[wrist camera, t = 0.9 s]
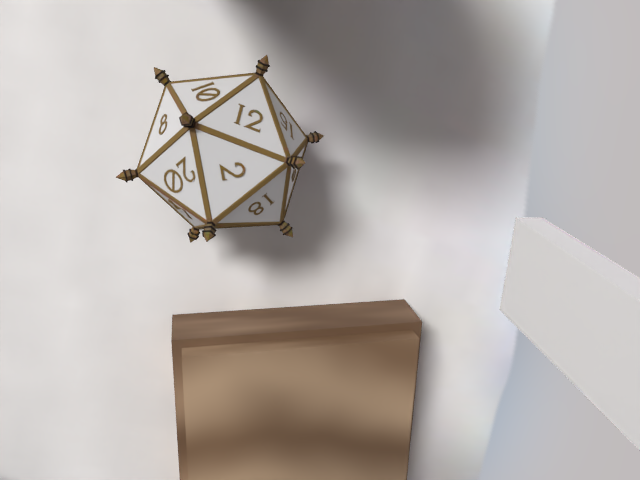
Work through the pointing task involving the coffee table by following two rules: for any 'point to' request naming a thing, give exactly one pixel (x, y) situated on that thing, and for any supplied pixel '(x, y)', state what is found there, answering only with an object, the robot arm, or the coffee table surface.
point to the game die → (223, 152)
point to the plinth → (296, 392)
